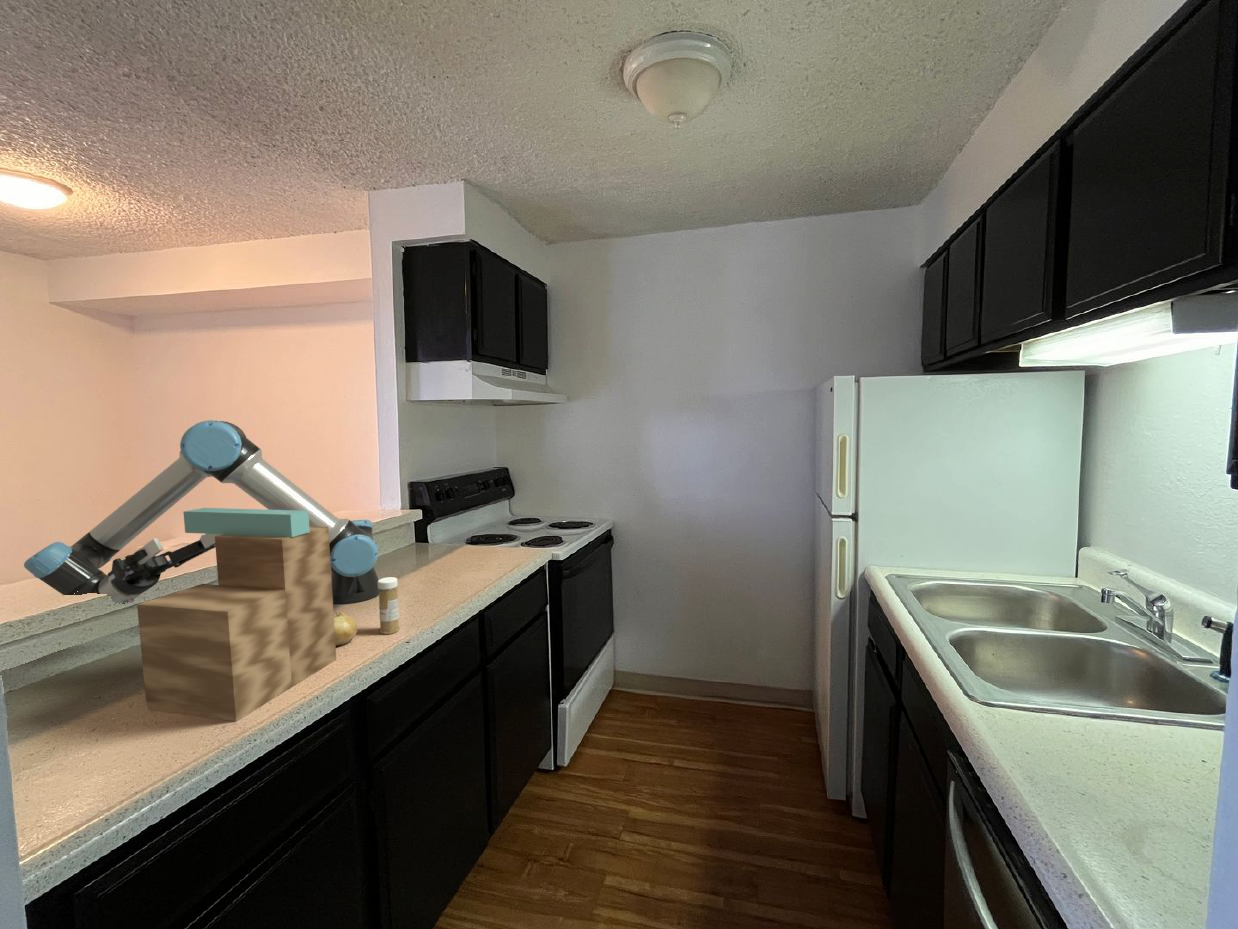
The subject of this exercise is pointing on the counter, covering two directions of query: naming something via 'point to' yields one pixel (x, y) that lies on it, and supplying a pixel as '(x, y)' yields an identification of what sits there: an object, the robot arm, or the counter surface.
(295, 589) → the wooden step block
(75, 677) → the counter surface
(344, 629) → the onion
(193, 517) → the slim box
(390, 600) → the sprinkles bottle
